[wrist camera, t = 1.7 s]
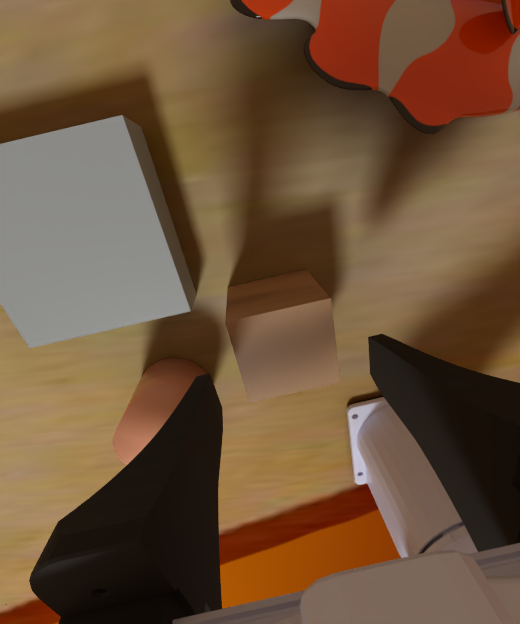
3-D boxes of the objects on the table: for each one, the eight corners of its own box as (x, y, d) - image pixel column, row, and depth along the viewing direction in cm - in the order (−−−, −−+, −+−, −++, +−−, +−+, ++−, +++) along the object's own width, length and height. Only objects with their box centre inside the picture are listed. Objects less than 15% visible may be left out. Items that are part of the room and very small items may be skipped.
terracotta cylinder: (219, 405, 21) (215, 464, 17) (155, 419, 21) (134, 483, 17) (200, 350, 19) (189, 401, 15) (129, 367, 19) (96, 422, 15)
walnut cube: (315, 336, 20) (340, 382, 15) (246, 352, 20) (249, 402, 15) (306, 268, 18) (330, 298, 13) (227, 286, 18) (225, 322, 13)
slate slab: (197, 292, 18) (190, 311, 15) (60, 323, 18) (29, 348, 15) (143, 128, 14) (122, 114, 11) (-29, 169, 14) (-91, 165, 12)
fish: (662, 8, 10) (458, 212, 12) (530, 63, 14) (398, 205, 16) (459, -582, 6) (206, -96, 8) (360, -245, 10) (216, 4, 12)
